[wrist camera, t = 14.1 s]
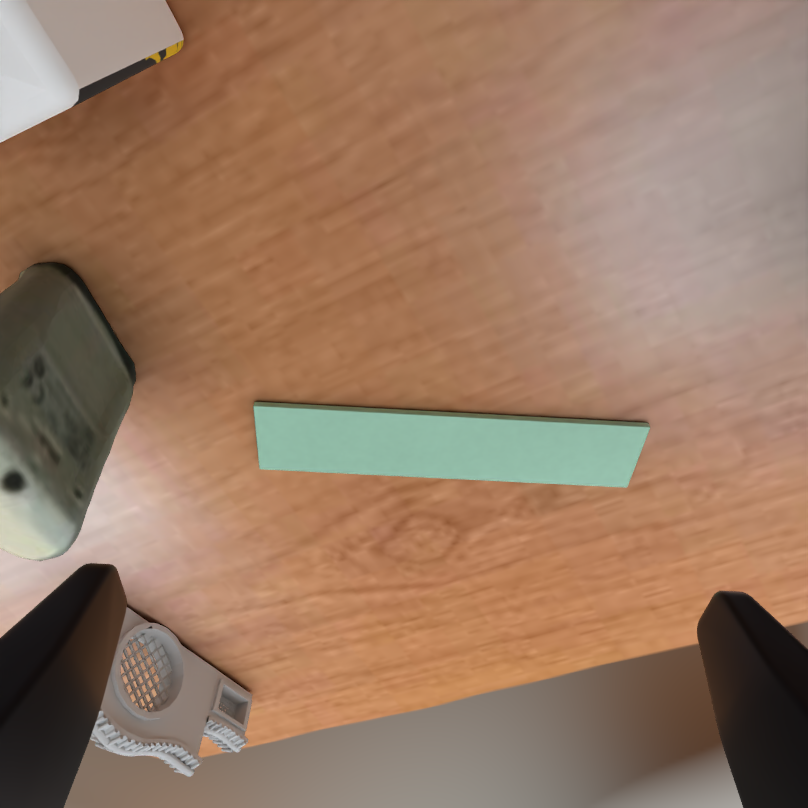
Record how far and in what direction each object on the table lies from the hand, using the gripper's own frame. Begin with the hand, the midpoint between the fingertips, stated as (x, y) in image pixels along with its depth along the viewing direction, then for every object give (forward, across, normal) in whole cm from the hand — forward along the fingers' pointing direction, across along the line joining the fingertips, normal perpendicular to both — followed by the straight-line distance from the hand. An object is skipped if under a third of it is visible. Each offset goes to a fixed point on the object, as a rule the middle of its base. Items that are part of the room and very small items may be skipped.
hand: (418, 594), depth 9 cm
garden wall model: (+13, +11, +23) cm, 29 cm away
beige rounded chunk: (+13, +11, +4) cm, 18 cm away
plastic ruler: (+13, -2, +8) cm, 15 cm away
